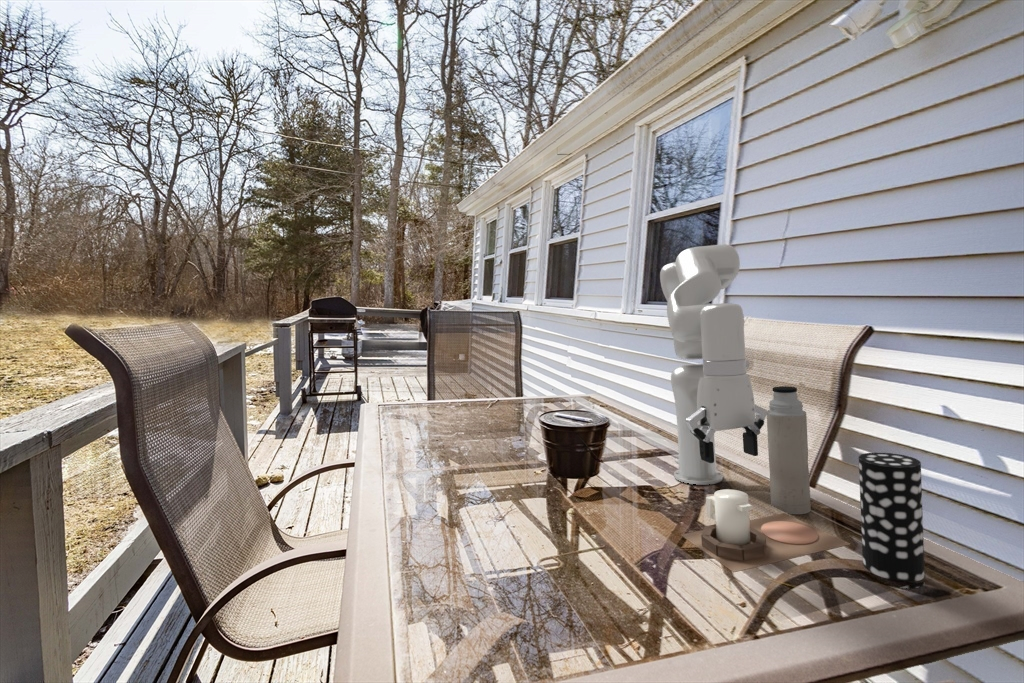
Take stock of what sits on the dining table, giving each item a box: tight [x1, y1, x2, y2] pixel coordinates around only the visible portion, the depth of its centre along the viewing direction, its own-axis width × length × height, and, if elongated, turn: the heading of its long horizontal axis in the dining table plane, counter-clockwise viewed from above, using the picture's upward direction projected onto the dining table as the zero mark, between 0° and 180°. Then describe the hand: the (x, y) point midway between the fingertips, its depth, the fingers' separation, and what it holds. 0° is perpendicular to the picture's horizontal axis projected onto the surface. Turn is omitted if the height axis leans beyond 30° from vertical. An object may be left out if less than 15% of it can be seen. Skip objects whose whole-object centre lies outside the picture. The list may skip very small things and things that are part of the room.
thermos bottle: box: [766, 385, 812, 515], centre depth 113 cm, size 8×8×28 cm
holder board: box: [680, 512, 851, 573], centre depth 97 cm, size 16×26×3 cm, turn 105°
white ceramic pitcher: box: [705, 488, 753, 546], centre depth 97 cm, size 11×6×10 cm, turn 15°
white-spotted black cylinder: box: [858, 452, 926, 590], centre depth 83 cm, size 8×8×20 cm
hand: (729, 457), depth 94 cm, fingers open, 9 cm apart
